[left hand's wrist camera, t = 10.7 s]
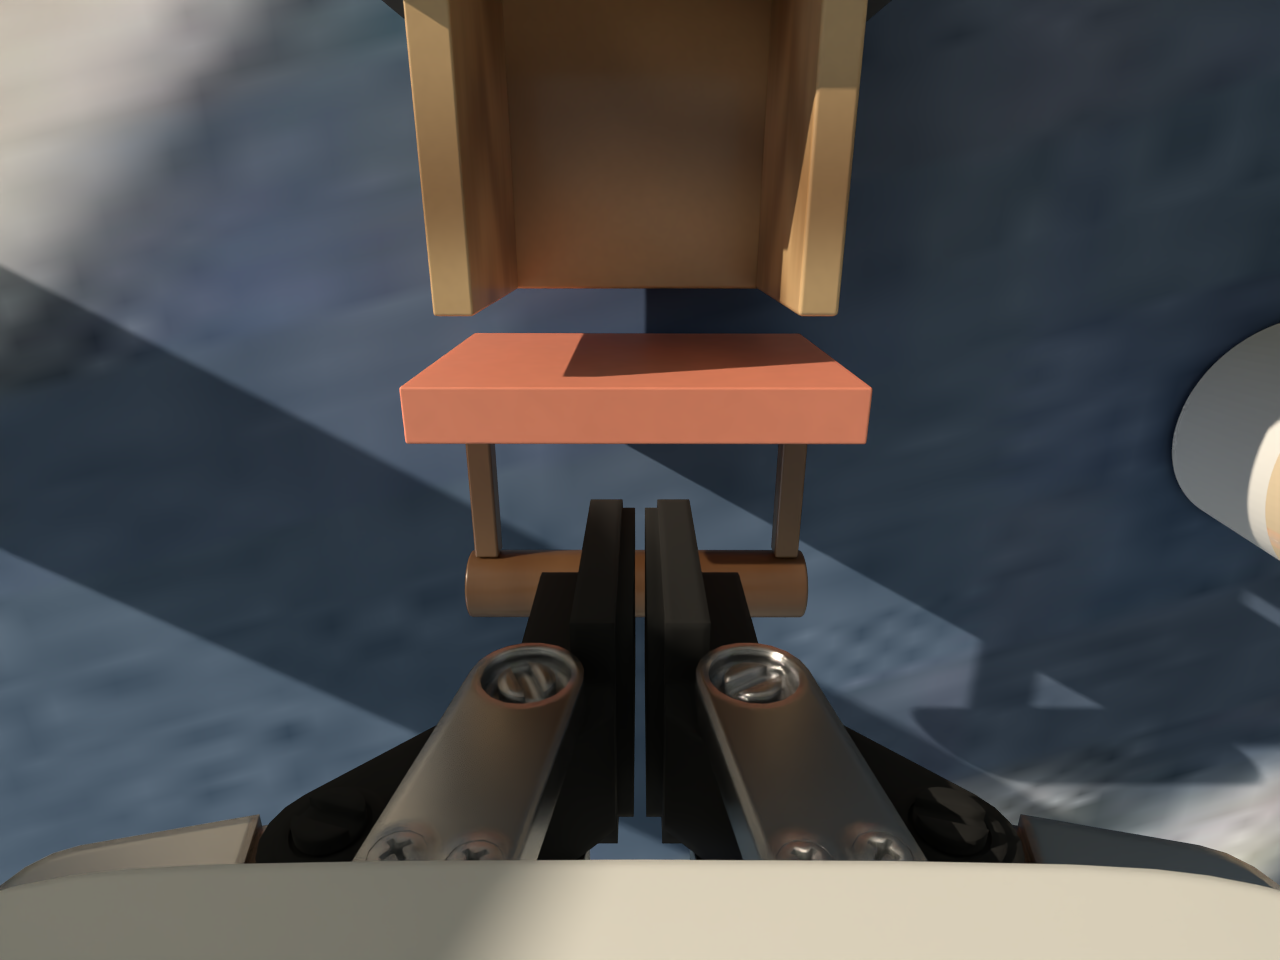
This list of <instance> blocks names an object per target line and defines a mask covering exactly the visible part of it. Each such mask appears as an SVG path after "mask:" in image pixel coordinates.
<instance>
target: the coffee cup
mask: <svg viewBox="0 0 1280 960" xmlns="http://www.w3.org/2000/svg"><path fill="white" fill-rule="evenodd" d="M1172 460H1173V467H1174V472H1175V475H1176V479H1177V481H1178V483H1179V485H1180V487H1181V489H1182V491H1183V492H1184V494H1185V495H1186V496H1187V497H1188V499H1189V500H1190V501H1191V502H1192V503H1193V504H1194V505H1195V506H1197V507H1198V508H1199V509H1201V510H1202V511H1204V512H1205V513H1207V514H1208V515H1210V516H1211V517H1213V518H1215V519H1216V520H1218V521H1219V522H1221V523H1222V524H1224V525H1225V526H1227V527H1228V528H1230V529H1232V530H1233V531H1235V532H1236V533H1238V534H1239V535H1241V536H1242V537H1244V538H1245V539H1247V540H1249V541H1250V542H1252V543H1253V544H1255V545H1256V546H1258V547H1259V548H1261V549H1262V550H1264V551H1266V552H1267V553H1269V554H1270V555H1272V556H1273V557H1275V558H1276V559H1278V560H1279V561H1280V323H1279V324H1276V325H1273V326H1271V327H1269V328H1266V329H1264V330H1262V331H1260V332H1258V333H1256V334H1254V335H1252V336H1250V337H1249V338H1247V339H1245V340H1244V341H1242V342H1241V343H1239V344H1238V345H1236V346H1235V347H1234V348H1232V349H1231V350H1230V351H1228V352H1227V353H1226V354H1225V355H1224V356H1222V357H1221V358H1220V359H1219V360H1218V361H1217V362H1216V363H1215V364H1214V365H1213V366H1212V367H1211V368H1210V369H1209V370H1208V371H1207V372H1206V373H1205V375H1204V376H1203V377H1202V378H1201V379H1200V381H1199V382H1198V383H1197V385H1196V386H1195V388H1194V389H1193V391H1192V392H1191V394H1190V395H1189V397H1188V399H1187V401H1186V403H1185V405H1184V407H1183V409H1182V411H1181V413H1180V416H1179V418H1178V421H1177V424H1176V428H1175V432H1174V437H1173V445H1172Z"/></svg>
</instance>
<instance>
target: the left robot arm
mask: <svg viewBox="0 0 1280 960" xmlns="http://www.w3.org/2000/svg"><path fill="white" fill-rule="evenodd" d="M634 738H635V508H623V500H591V501H590V507H589V513H588V518H587V524H586V530H585V536H584V542H583V547H582V553H581V559H580V565H579V570H578V572H542V574H541V576H540V579H539V583H538V587H537V590H536V594H535V597H534V601H533V605H532V608H531V612H530V616H529V619H528V623H527V626H526V630H525V634H524V637H523V641H522V644H517V645H511V646H507V647H505V648H502V649H499V650H496V651H494V652H492V653H490V654H489V655H487V656H486V657H484V658H482V659H481V660H480V661H479V662H478V663H477V664H476V665H475V666H474V667H473V668H472V670H471V671H470V673H469V674H468V676H467V677H466V679H465V681H464V682H463V684H462V685H461V687H460V689H459V690H458V692H457V693H456V695H455V697H454V698H453V700H452V702H451V703H450V705H449V706H448V708H447V710H446V711H445V713H444V714H443V716H442V718H441V719H440V721H439V722H438V724H437V725H436V726H434V727H432V728H430V729H429V730H427V731H425V732H423V733H421V734H419V735H417V736H415V737H413V738H411V739H410V740H408V741H406V742H404V743H402V744H400V745H398V746H396V747H394V748H393V749H391V750H389V751H387V752H385V753H383V754H381V755H379V756H377V757H375V758H374V759H372V760H370V761H368V762H366V763H364V764H362V765H360V766H358V767H357V768H355V769H353V770H351V771H349V772H347V773H345V774H343V775H341V776H339V777H338V778H336V779H334V780H332V781H330V782H328V783H326V784H324V785H322V786H321V787H319V788H317V789H315V790H313V791H311V792H309V793H307V794H305V795H304V796H302V797H301V798H299V799H298V800H296V801H294V802H293V803H291V804H290V805H288V806H287V807H285V808H284V809H283V810H282V811H281V812H280V813H279V814H278V815H277V816H276V817H275V818H274V819H273V820H272V821H271V822H270V823H269V825H264V826H262V823H261V819H260V815H259V814H258V815H253V816H247V817H241V818H235V819H229V820H224V821H218V822H212V823H206V824H201V825H195V826H189V827H183V828H178V829H172V830H166V831H160V832H155V833H149V834H143V835H137V836H131V837H126V838H120V839H114V840H108V841H103V842H97V843H91V844H85V845H80V846H77V847H73V848H70V849H66V850H63V851H59V852H56V853H53V854H51V855H49V856H47V857H45V858H43V859H41V860H39V861H37V862H35V863H33V864H31V865H29V866H27V867H25V868H24V869H22V870H21V871H20V872H18V873H17V874H15V875H14V876H13V877H11V878H10V879H9V880H7V881H6V882H5V883H3V884H2V885H0V960H1280V885H1278V884H1277V883H1275V882H1274V881H1273V880H1271V879H1270V878H1269V877H1267V876H1266V875H1265V874H1263V873H1262V872H1260V871H1259V870H1258V869H1256V868H1255V867H1253V866H1251V865H1249V864H1247V863H1245V862H1243V861H1241V860H1239V859H1237V858H1235V857H1233V856H1231V855H1229V854H1227V853H1224V852H1221V851H1217V850H1214V849H1210V848H1207V847H1203V846H1200V845H1195V844H1189V843H1183V842H1177V841H1172V840H1166V839H1160V838H1154V837H1149V836H1143V835H1137V834H1131V833H1125V832H1120V831H1114V830H1108V829H1102V828H1097V827H1091V826H1085V825H1079V824H1074V823H1068V822H1062V821H1056V820H1051V819H1045V818H1039V817H1033V816H1027V815H1022V814H1021V815H1020V819H1019V823H1018V826H1016V825H1011V823H1010V822H1009V821H1008V820H1007V819H1006V818H1005V817H1004V816H1003V815H1002V814H1001V813H1000V812H999V811H998V810H997V809H996V808H995V807H993V806H992V805H990V804H989V803H987V802H986V801H984V800H982V799H981V798H979V797H978V796H976V795H975V794H973V793H971V792H969V791H967V790H965V789H963V788H961V787H959V786H958V785H956V784H954V783H952V782H950V781H948V780H946V779H944V778H942V777H941V776H939V775H937V774H935V773H933V772H931V771H929V770H927V769H925V768H923V767H922V766H920V765H918V764H916V763H914V762H912V761H910V760H908V759H906V758H905V757H903V756H901V755H899V754H897V753H895V752H893V751H891V750H889V749H887V748H886V747H884V746H882V745H880V744H878V743H876V742H874V741H872V740H870V739H869V738H867V737H865V736H863V735H861V734H859V733H857V732H855V731H853V730H851V729H850V728H848V727H846V726H844V725H843V724H842V722H841V721H840V719H839V718H838V716H837V714H836V713H835V711H834V710H833V708H832V706H831V705H830V703H829V702H828V700H827V698H826V697H825V695H824V693H823V692H822V690H821V689H820V687H819V685H818V684H817V682H816V681H815V679H814V677H813V676H812V674H811V673H810V671H809V670H808V668H807V667H806V666H805V665H804V664H803V663H802V662H801V661H800V660H799V659H798V658H796V657H794V656H793V655H791V654H790V653H788V652H786V651H784V650H781V649H778V648H775V647H773V646H769V645H763V644H758V641H757V637H756V634H755V630H754V626H753V623H752V619H751V616H750V612H749V608H748V605H747V601H746V597H745V594H744V590H743V587H742V583H741V579H740V576H739V574H738V572H702V570H701V565H700V559H699V553H698V547H697V542H696V536H695V530H694V524H693V518H692V513H691V507H690V501H689V500H657V508H645V738H646V817H661V820H662V843H682V844H684V845H685V846H686V847H687V848H689V849H690V860H590V849H591V848H593V847H594V846H595V845H596V844H598V843H618V820H619V817H634Z"/></svg>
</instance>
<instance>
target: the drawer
mask: <svg viewBox="0 0 1280 960" xmlns="http://www.w3.org/2000/svg"><path fill="white" fill-rule="evenodd" d="M867 4H868V0H403V5H404V15H405V25H406V36H407V46H408V56H409V66H410V77H411V87H412V97H413V107H414V118H415V128H416V138H417V148H418V159H419V169H420V179H421V189H422V200H423V210H424V220H425V231H426V241H427V251H428V261H429V272H430V282H431V292H432V302H433V313H434V315H436V316H473V315H474V314H476V313H478V312H479V311H481V310H483V309H484V308H486V307H488V306H489V305H491V304H493V303H494V302H496V301H497V300H499V299H501V298H502V297H504V296H506V295H507V294H509V293H511V292H512V291H514V290H516V289H517V288H710V289H759V290H761V291H762V292H764V293H765V294H767V295H768V296H770V297H772V298H773V299H775V300H776V301H778V302H779V303H781V304H783V305H784V306H786V307H787V308H789V309H790V310H792V311H794V312H795V313H797V314H798V315H800V316H835V315H837V313H838V308H839V297H840V287H841V276H842V266H843V255H844V245H845V234H846V224H847V213H848V203H849V193H850V182H851V172H852V161H853V151H854V140H855V130H856V119H857V109H858V98H859V88H860V78H861V67H862V57H863V46H864V36H865V25H866V15H867ZM400 398H401V406H402V415H403V423H404V432H405V440H406V443H408V444H466V454H467V466H468V477H469V488H470V500H471V511H472V523H473V534H474V545H475V550H474V551H472V552H471V554H470V556H469V559H468V563H467V568H466V576H465V599H466V606H467V610H468V613H469V615H470V616H472V617H529V616H530V612H531V608H532V605H533V601H534V597H535V594H536V590H537V587H538V583H539V579H540V576H541V574H542V572H578V570H579V565H580V559H581V553H582V550H501V549H502V537H501V523H500V509H499V496H498V482H497V468H496V454H495V444H779V445H778V459H777V473H776V487H775V501H774V515H773V529H772V543H771V548H772V550H698V553H699V559H700V565H701V570H702V572H738V574H739V576H740V579H741V583H742V587H743V590H744V594H745V597H746V601H747V605H748V608H749V612H750V616H751V617H802V616H803V615H804V613H805V610H806V606H807V600H808V575H807V567H806V562H805V559H804V556H803V554H802V552H801V551H799V550H798V547H799V535H800V524H801V512H802V501H803V489H804V477H805V466H806V454H807V444H865V443H866V441H867V432H868V424H869V415H870V406H871V398H872V388H871V387H870V386H869V385H867V384H866V383H865V382H863V381H862V380H861V379H859V378H858V377H857V376H855V375H854V374H853V373H851V372H850V371H849V370H847V369H846V368H845V367H843V366H842V365H841V364H839V363H838V362H837V361H835V360H834V359H833V358H831V357H830V356H829V355H827V354H826V353H825V352H823V351H822V350H821V349H819V348H818V347H817V346H815V345H814V344H813V343H811V342H810V341H809V340H807V339H806V338H805V337H803V336H802V335H801V334H633V333H475V334H473V335H472V336H470V337H469V338H468V339H466V340H465V341H463V342H462V343H461V344H459V345H458V346H457V347H455V348H454V349H452V350H451V351H450V352H448V353H447V354H446V355H444V356H443V357H441V358H440V359H439V360H437V361H436V362H434V363H433V364H432V365H430V366H429V367H428V368H426V369H425V370H423V371H422V372H421V373H419V374H418V375H417V376H415V377H414V378H412V379H411V380H410V381H408V382H407V383H405V384H404V385H403V386H401V387H400ZM635 617H645V550H635Z"/></svg>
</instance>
